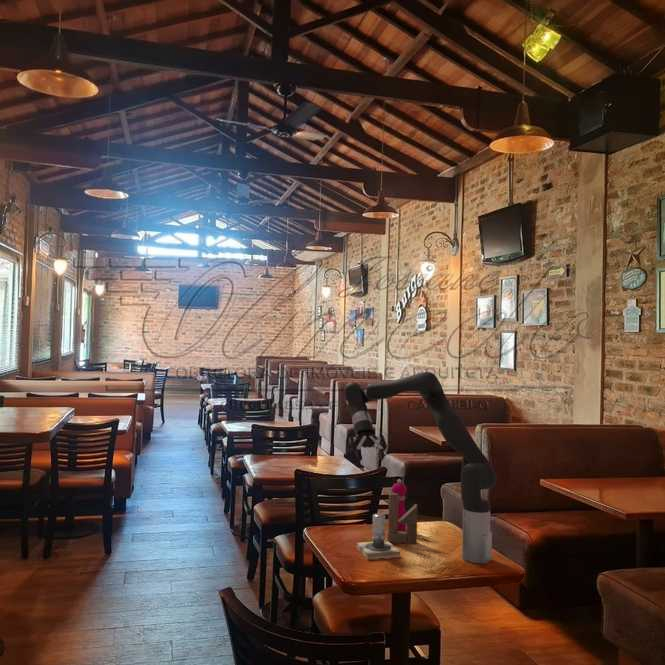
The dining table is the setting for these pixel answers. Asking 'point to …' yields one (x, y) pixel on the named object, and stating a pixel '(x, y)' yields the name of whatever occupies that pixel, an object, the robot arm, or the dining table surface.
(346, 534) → the dining table surface
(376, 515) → the axle
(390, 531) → the wooden block
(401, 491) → the pepper mill
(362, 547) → the rest block
